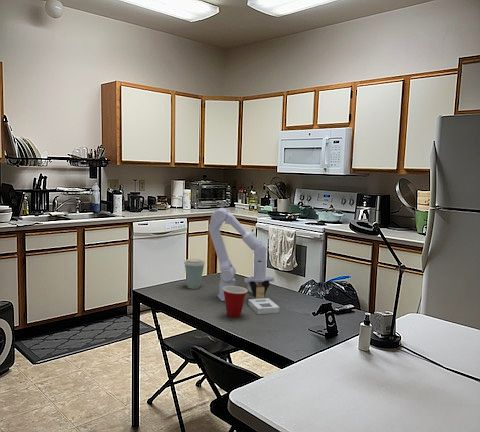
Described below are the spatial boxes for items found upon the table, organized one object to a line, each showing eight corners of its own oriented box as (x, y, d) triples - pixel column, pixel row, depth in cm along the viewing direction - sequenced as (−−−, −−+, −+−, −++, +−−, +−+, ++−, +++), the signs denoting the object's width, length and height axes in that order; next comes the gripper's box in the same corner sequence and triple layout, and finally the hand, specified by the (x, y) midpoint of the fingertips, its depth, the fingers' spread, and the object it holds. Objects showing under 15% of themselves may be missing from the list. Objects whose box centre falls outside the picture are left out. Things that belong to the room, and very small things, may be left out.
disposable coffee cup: (184, 284, 236) (184, 257, 234) (204, 284, 237) (204, 257, 235) (183, 290, 225) (184, 261, 224) (204, 290, 227) (205, 261, 225)
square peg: (253, 299, 213) (253, 285, 212) (261, 299, 214) (261, 285, 213) (256, 302, 209) (256, 287, 208) (264, 301, 210) (264, 287, 209)
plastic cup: (249, 319, 185) (249, 291, 183) (223, 320, 183) (224, 292, 181) (244, 311, 195) (245, 284, 194) (220, 311, 193) (221, 285, 192)
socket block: (248, 304, 204) (248, 299, 204) (268, 303, 207) (268, 298, 207) (257, 314, 191) (258, 308, 191) (279, 312, 194) (279, 307, 194)
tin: (266, 298, 215) (266, 281, 214) (261, 299, 213) (261, 282, 212) (250, 290, 228) (250, 274, 227) (245, 291, 226) (245, 275, 225)
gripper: (247, 271, 204) (247, 299, 205) (276, 270, 208) (276, 298, 209) (243, 268, 210) (242, 295, 212) (271, 266, 215) (270, 293, 216)
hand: (258, 296), depth 211 cm, fingers closed on square peg, 4 cm apart
